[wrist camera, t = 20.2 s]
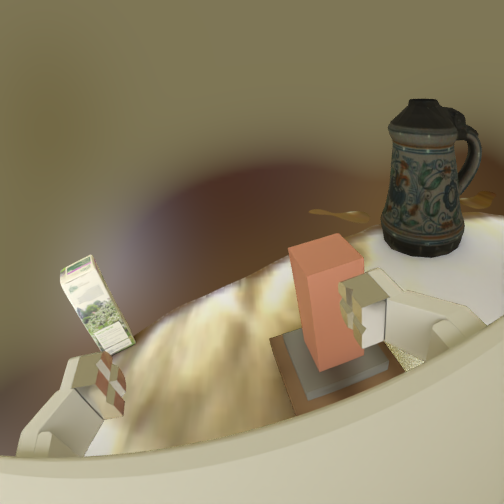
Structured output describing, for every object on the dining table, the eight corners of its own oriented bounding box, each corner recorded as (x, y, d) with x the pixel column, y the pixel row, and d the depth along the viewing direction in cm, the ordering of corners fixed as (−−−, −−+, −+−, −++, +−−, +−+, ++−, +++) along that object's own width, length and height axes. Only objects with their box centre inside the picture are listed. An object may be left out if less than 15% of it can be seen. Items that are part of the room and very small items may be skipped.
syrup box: (129, 325, 51) (91, 251, 44) (137, 344, 46) (94, 266, 39) (101, 339, 48) (59, 268, 41) (106, 360, 44) (59, 284, 37)
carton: (345, 326, 35) (338, 233, 29) (363, 355, 31) (363, 257, 25) (304, 340, 35) (287, 247, 29) (319, 372, 30) (306, 276, 25)
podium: (358, 322, 40) (358, 299, 38) (403, 386, 30) (408, 364, 28) (272, 351, 40) (266, 329, 38) (300, 428, 29) (296, 409, 27)
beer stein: (364, 233, 60) (349, 102, 48) (428, 205, 64) (422, 93, 52) (425, 271, 46) (424, 108, 34) (486, 232, 50) (490, 101, 38)
